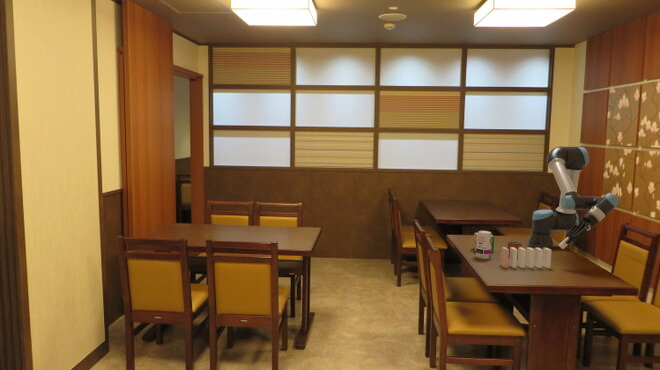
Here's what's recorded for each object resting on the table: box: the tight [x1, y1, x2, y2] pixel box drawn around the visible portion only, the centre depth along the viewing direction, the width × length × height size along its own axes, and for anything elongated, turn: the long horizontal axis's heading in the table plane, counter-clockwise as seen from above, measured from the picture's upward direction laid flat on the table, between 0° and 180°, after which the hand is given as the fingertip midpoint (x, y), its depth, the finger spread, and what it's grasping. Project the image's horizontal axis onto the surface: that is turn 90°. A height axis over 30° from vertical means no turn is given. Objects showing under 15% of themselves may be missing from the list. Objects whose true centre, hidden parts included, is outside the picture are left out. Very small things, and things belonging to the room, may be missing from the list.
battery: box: [507, 240, 523, 260], centre depth 278 cm, size 4×7×10 cm, turn 89°
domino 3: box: [517, 246, 527, 269], centre depth 260 cm, size 2×5×10 cm, turn 2°
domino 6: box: [542, 248, 553, 269], centre depth 260 cm, size 2×5×10 cm, turn 2°
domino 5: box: [533, 248, 543, 269], centre depth 260 cm, size 2×5×10 cm, turn 2°
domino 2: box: [508, 247, 518, 269], centre depth 260 cm, size 2×5×10 cm, turn 2°
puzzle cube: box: [472, 232, 495, 254], centre depth 294 cm, size 10×10×10 cm
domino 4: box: [525, 247, 535, 269], centre depth 260 cm, size 2×5×10 cm, turn 2°
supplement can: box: [475, 230, 493, 260], centre depth 277 cm, size 8×8×15 cm
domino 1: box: [500, 246, 509, 269], centre depth 259 cm, size 2×5×10 cm, turn 2°
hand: (560, 247), depth 260 cm, fingers closed
